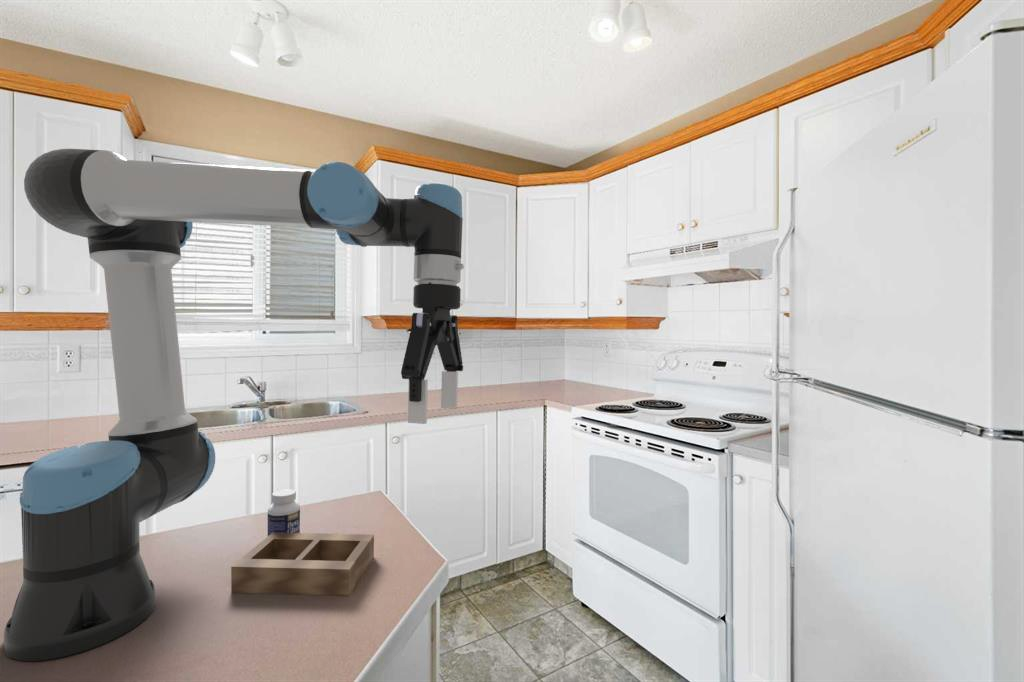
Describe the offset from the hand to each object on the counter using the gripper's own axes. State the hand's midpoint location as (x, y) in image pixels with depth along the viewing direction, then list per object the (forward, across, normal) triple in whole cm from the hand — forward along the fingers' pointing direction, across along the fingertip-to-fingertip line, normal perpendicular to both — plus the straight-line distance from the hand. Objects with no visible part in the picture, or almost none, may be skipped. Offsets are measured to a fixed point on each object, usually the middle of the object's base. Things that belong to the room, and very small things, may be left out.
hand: (434, 415), depth 77 cm
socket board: (+27, -5, +20) cm, 33 cm away
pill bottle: (+27, +3, +30) cm, 41 cm away
